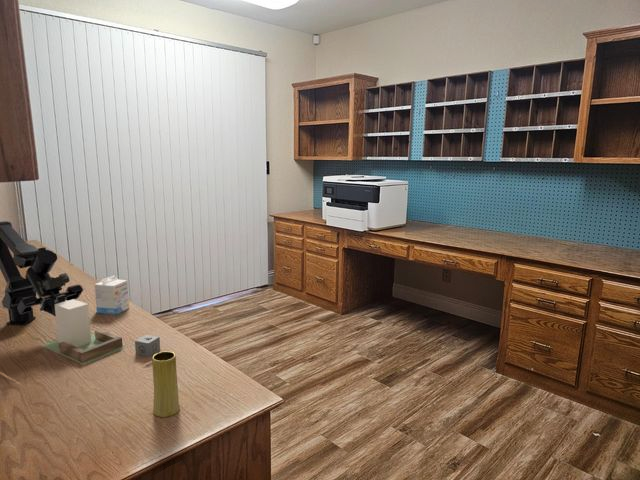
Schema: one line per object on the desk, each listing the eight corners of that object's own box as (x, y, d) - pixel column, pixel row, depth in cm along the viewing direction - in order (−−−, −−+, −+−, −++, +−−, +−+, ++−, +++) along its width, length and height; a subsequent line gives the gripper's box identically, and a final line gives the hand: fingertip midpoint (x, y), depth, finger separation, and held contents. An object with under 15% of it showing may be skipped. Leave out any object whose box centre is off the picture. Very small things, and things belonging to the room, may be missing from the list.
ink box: (115, 315, 163) (113, 281, 160) (96, 313, 164) (93, 279, 162) (129, 308, 171) (127, 275, 168) (111, 306, 173) (108, 273, 170)
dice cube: (149, 358, 130) (148, 343, 129) (135, 355, 132) (134, 340, 131) (160, 351, 135) (159, 336, 134) (147, 349, 137) (146, 334, 136)
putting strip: (41, 346, 136) (41, 345, 136) (84, 331, 148) (84, 330, 148) (83, 366, 124) (83, 364, 124) (126, 348, 136) (126, 347, 136)
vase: (157, 403, 107) (154, 350, 105) (182, 402, 108) (180, 349, 105) (149, 418, 102) (146, 362, 99) (176, 417, 102) (174, 361, 99)
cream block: (58, 342, 138) (54, 304, 135) (76, 336, 143) (73, 299, 140) (72, 349, 134) (69, 309, 131) (91, 342, 139) (88, 303, 136)
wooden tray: (59, 352, 131) (58, 343, 131) (99, 337, 142) (99, 329, 142) (82, 362, 125) (81, 353, 125) (122, 346, 136) (122, 337, 136)
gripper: (17, 273, 131) (40, 315, 128) (77, 261, 147) (99, 298, 144) (7, 293, 137) (29, 334, 133) (66, 279, 152) (87, 315, 149)
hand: (63, 319), depth 140 cm, fingers closed
